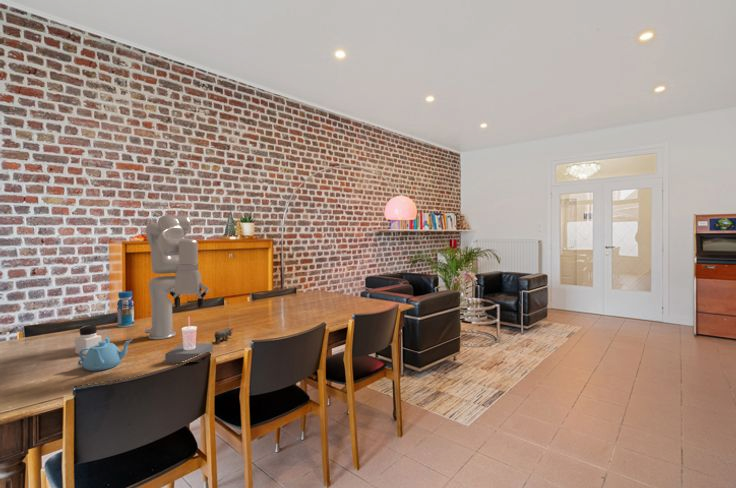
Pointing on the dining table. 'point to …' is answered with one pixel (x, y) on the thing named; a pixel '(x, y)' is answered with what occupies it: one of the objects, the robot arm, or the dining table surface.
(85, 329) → the medicine bottle
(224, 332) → the rhino figurine
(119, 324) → the beverage bottle
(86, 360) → the teapot
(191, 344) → the beverage cup
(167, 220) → the robot arm
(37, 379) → the dining table surface
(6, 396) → the dining table surface
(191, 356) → the plinth
